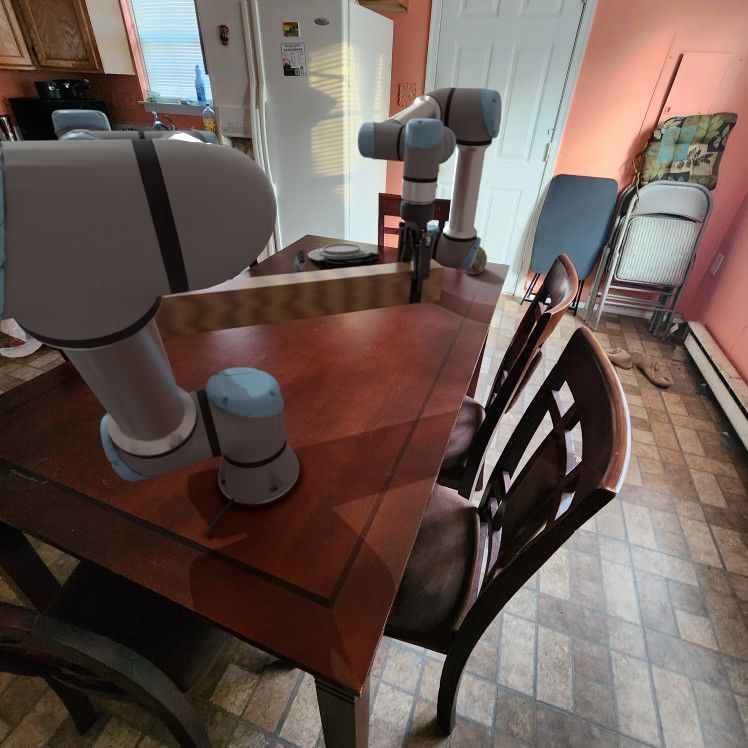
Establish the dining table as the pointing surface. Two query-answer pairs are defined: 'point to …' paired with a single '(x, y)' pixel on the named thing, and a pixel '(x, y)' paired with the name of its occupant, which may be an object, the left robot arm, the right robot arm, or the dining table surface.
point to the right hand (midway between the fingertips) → (409, 297)
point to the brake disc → (343, 256)
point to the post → (293, 297)
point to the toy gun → (300, 262)
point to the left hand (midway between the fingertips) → (147, 331)
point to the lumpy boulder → (478, 262)
